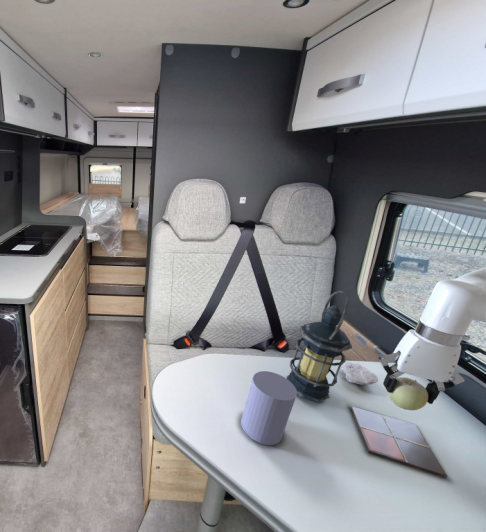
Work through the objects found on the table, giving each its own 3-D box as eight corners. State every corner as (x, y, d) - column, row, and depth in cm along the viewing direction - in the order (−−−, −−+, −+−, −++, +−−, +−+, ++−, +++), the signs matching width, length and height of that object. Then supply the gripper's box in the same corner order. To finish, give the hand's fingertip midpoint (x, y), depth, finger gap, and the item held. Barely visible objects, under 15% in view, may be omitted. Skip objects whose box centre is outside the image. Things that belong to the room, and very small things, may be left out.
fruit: (427, 420, 73) (442, 393, 70) (391, 410, 75) (404, 384, 72) (411, 398, 80) (424, 373, 77) (378, 389, 81) (389, 365, 79)
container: (238, 435, 80) (250, 389, 75) (243, 408, 89) (254, 366, 84) (281, 453, 76) (297, 406, 71) (281, 423, 85) (296, 380, 80)
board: (414, 427, 88) (415, 424, 87) (445, 478, 74) (447, 475, 73) (350, 408, 93) (351, 405, 92) (368, 453, 78) (369, 450, 78)
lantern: (280, 371, 106) (309, 279, 94) (323, 383, 103) (359, 288, 90) (285, 400, 94) (320, 297, 81) (334, 414, 90) (378, 309, 78)
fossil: (354, 383, 99) (342, 355, 107) (346, 392, 104) (334, 365, 111) (383, 385, 98) (369, 357, 106) (373, 394, 103) (360, 366, 110)
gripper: (475, 335, 70) (442, 395, 77) (386, 316, 76) (361, 374, 82) (499, 353, 64) (460, 417, 70) (398, 331, 69) (370, 393, 75)
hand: (407, 394), depth 76 cm, fingers closed on fruit, 7 cm apart
